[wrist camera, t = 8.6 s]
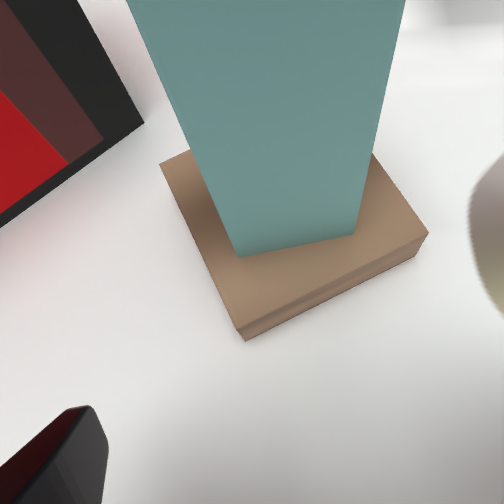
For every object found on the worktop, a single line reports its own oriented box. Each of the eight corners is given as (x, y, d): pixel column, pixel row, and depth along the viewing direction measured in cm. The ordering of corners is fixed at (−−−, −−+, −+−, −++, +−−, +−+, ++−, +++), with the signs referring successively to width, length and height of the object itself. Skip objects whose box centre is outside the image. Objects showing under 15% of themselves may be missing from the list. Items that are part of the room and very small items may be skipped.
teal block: (353, 234, 17) (443, -172, 5) (237, 257, 17) (90, -83, 6) (326, 137, 19) (352, -327, 7) (221, 160, 19) (81, -256, 7)
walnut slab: (414, 256, 19) (429, 232, 17) (245, 341, 19) (236, 329, 16) (322, 121, 22) (324, 85, 20) (175, 192, 22) (158, 163, 19)
